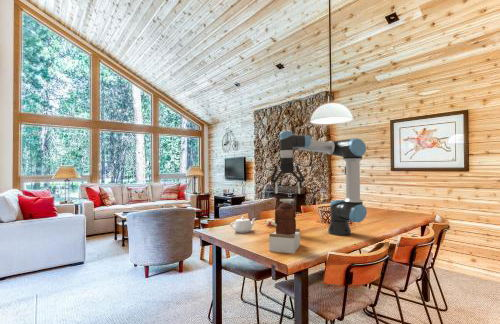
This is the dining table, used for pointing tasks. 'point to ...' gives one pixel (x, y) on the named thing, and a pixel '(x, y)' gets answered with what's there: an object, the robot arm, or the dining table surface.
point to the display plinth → (284, 242)
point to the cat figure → (270, 222)
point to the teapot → (242, 225)
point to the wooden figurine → (285, 219)
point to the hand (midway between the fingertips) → (287, 193)
